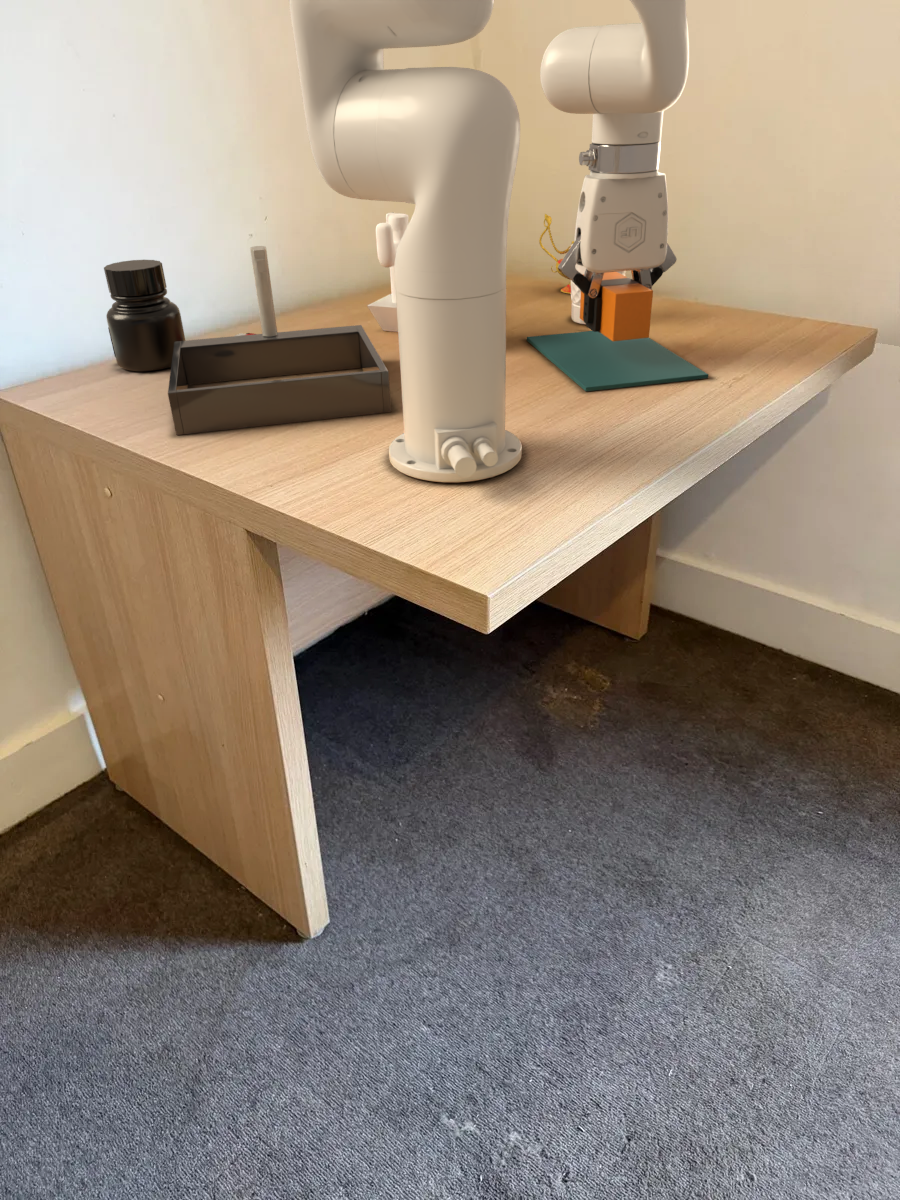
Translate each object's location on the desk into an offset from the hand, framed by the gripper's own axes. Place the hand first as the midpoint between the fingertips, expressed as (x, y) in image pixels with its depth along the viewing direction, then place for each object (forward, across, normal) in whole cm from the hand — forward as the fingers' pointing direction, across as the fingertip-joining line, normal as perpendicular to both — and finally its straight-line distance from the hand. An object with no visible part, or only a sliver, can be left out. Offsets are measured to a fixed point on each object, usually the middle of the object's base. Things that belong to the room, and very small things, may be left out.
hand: (613, 325), depth 106 cm
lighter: (+4, -42, +20) cm, 47 cm away
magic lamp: (+4, +10, +35) cm, 36 cm away
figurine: (+4, -22, +23) cm, 32 cm away
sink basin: (+4, -41, -1) cm, 41 cm away
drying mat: (+4, 0, 0) cm, 4 cm away
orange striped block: (0, 0, 0) cm, 0 cm away
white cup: (+4, +5, +18) cm, 19 cm away
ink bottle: (+4, -56, +17) cm, 59 cm away
